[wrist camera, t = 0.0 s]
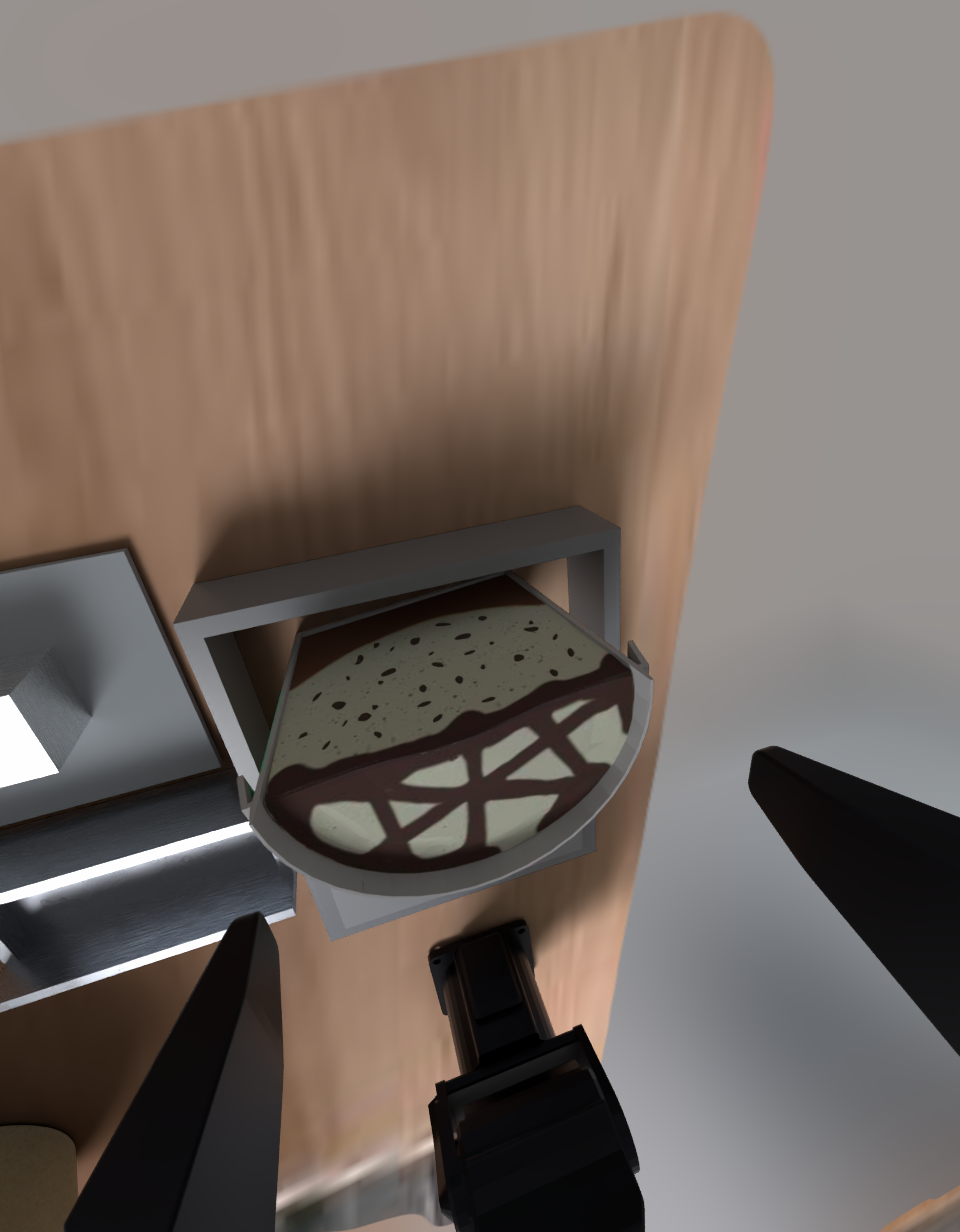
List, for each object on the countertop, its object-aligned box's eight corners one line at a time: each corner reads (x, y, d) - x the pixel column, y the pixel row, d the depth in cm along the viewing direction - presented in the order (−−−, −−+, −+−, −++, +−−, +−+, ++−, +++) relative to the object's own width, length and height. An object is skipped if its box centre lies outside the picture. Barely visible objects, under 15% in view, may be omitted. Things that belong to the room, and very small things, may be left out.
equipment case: (590, 840, 33) (618, 889, 30) (330, 928, 30) (332, 992, 27) (580, 505, 23) (620, 527, 20) (193, 584, 20) (172, 624, 17)
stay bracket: (297, 850, 27) (295, 915, 24) (29, 932, 24) (-11, 1016, 21) (261, 760, 24) (253, 819, 21) (-45, 842, 22) (-104, 923, 19)
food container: (312, 755, 25) (313, 968, 16) (259, 644, 22) (226, 833, 13) (556, 670, 27) (675, 821, 18) (538, 558, 24) (670, 673, 15)
